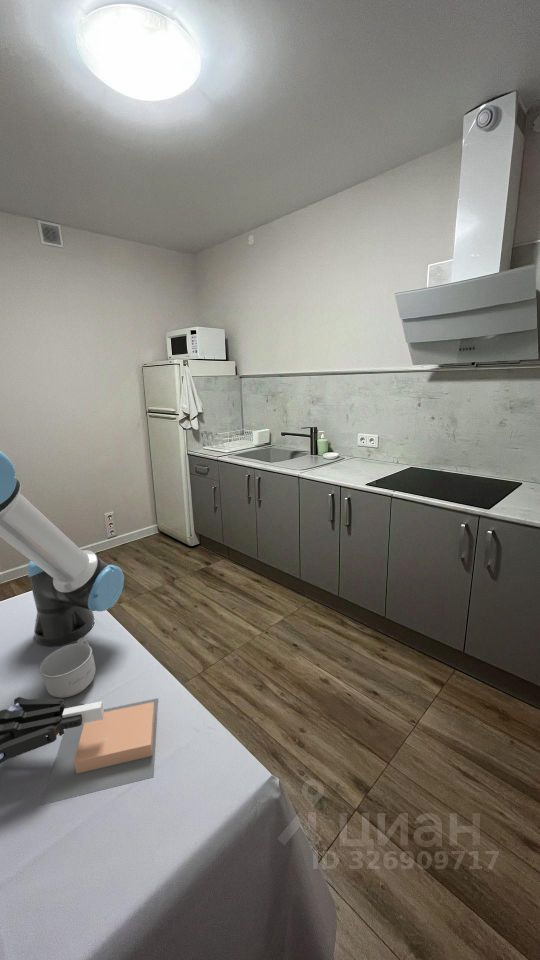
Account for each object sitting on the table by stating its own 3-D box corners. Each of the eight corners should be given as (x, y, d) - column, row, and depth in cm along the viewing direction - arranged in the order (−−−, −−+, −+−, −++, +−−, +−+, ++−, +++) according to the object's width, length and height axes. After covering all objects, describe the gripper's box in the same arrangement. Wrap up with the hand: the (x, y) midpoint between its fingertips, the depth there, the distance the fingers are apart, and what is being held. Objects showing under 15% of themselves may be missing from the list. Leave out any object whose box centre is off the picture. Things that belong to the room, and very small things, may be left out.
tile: (86, 716, 79) (153, 701, 82) (88, 727, 80) (155, 713, 82) (73, 762, 70) (150, 744, 72) (76, 774, 70) (152, 756, 73)
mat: (69, 718, 83) (69, 716, 83) (158, 700, 86) (158, 698, 86) (41, 807, 66) (41, 804, 66) (154, 779, 69) (153, 777, 69)
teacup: (77, 708, 85) (71, 677, 83) (34, 702, 88) (26, 672, 85) (114, 663, 99) (109, 635, 96) (76, 658, 101) (70, 631, 99)
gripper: (-19, 725, 76) (111, 699, 81) (-57, 793, 64) (98, 758, 68) (-29, 693, 74) (105, 668, 79) (-70, 756, 62) (91, 723, 66)
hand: (102, 710), depth 73 cm, fingers closed
